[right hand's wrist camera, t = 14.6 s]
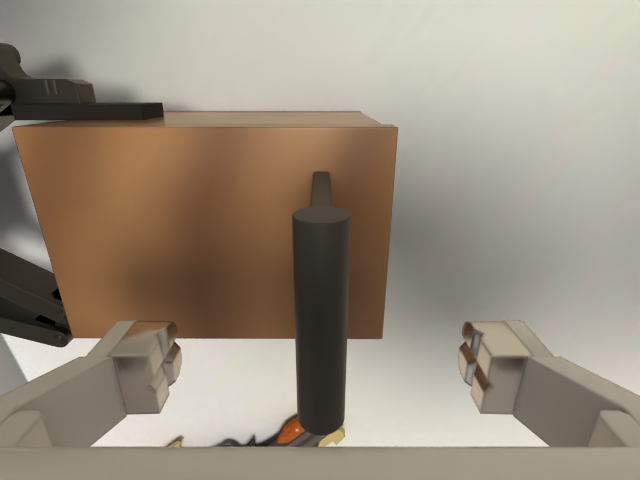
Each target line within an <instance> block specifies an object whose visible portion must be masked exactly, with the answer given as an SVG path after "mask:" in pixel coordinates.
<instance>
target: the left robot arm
mask: <svg viewBox="0 0 640 480" xmlns="http://www.w3.org/2000/svg"><path fill="white" fill-rule="evenodd" d="M20 62H21V57H20V54H19V52H18V51H17V49H16V48H15V47H13V46H12V45H9V44H5V43H0V132H1V131H2V130H3V129H5V128H6V127H7V126H8V125H10V124H11V123H12V122H14V121H15V120H146V119H152V118H158V117H164V112H163V105H162V103H96V100H95V95H94V90H93V85H92V84H91V83H88V82H86V81H83V80H68V79H32V78H31V77H29V76H28V75H27V74H25V72H24V71H23V70H22V68H21V66H20V65H19V64H20ZM0 333H3V334H7V335H11V336H15V337H19V338H23V339H27V340H31V341H35V342H39V343H43V344H47V345H51V346H55V347H65V346H66V345H67V344H68V343H69V342H70V341H71V340H72V339H73V336H72V333H71V329H70V326H69V322H68V319H67V316H66V312H65V309H64V305H63V302H62V298H61V295H60V292H59V288H58V285H57V281H56V278H55V274H53V273H51V272H49V271H47V270H45V269H43V268H41V267H39V266H37V265H35V264H32V263H30V262H28V261H26V260H24V259H22V258H20V257H18V256H16V255H14V254H11V253H9V252H7V251H5V250H3V249H1V248H0Z"/></svg>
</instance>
